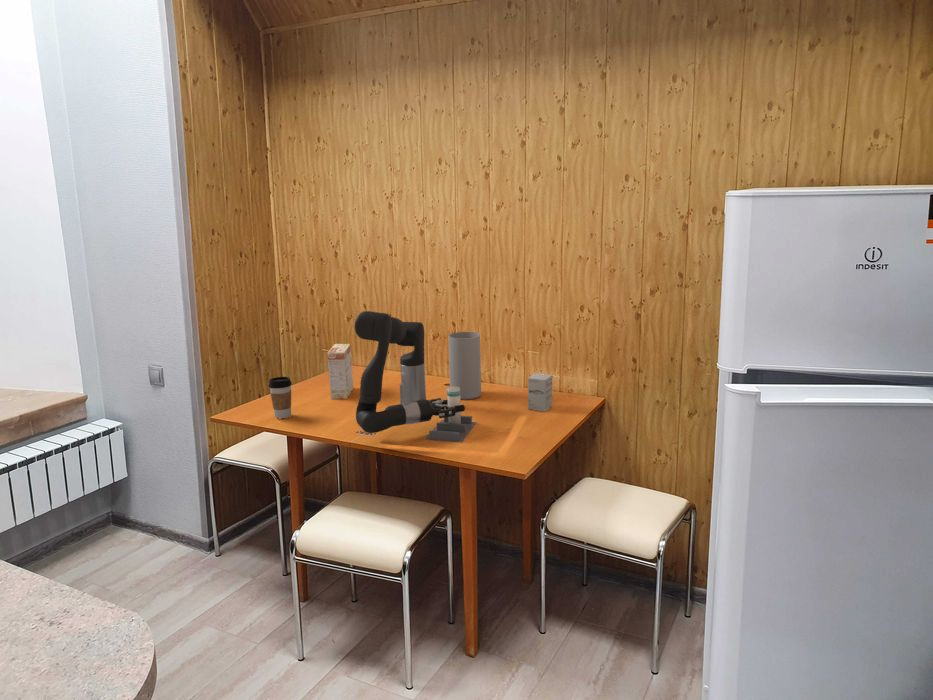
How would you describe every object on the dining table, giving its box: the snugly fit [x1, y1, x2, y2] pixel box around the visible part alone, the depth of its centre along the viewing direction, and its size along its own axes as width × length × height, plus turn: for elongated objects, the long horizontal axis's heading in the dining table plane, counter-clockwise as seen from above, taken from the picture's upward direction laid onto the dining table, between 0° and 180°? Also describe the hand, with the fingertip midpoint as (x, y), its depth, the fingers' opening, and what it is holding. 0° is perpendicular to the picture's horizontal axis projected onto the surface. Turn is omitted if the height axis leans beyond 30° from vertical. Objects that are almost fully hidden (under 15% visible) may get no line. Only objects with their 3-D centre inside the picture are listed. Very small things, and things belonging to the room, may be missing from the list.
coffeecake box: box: [326, 343, 354, 400], centre depth 298 cm, size 15×7×20 cm, turn 178°
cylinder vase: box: [447, 331, 482, 401], centre depth 290 cm, size 12×12×25 cm
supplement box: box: [527, 372, 553, 412], centre depth 274 cm, size 7×7×13 cm
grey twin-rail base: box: [423, 414, 478, 443], centre depth 250 cm, size 13×20×4 cm, turn 165°
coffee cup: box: [268, 376, 292, 419], centre depth 272 cm, size 8×8×15 cm
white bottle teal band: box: [446, 386, 462, 424], centre depth 252 cm, size 5×5×14 cm
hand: (459, 404), depth 253 cm, fingers open, 7 cm apart
